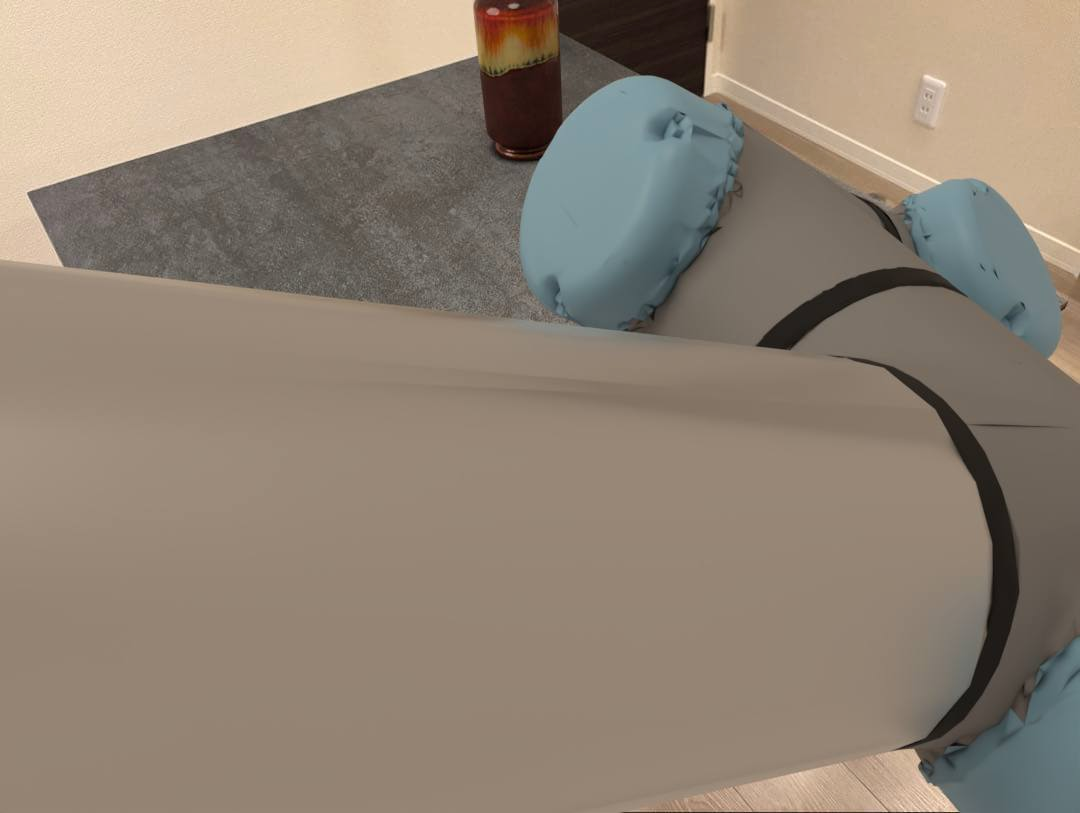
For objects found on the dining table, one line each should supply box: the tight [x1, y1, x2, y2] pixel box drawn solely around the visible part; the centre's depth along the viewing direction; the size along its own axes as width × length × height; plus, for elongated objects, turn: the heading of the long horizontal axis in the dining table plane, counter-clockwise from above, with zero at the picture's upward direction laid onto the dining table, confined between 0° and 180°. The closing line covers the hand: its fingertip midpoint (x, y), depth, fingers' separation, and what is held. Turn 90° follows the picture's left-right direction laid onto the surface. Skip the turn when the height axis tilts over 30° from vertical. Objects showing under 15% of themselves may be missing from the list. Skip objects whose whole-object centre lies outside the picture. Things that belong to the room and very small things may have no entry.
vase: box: [472, 0, 563, 162], centre depth 111 cm, size 11×11×26 cm
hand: (454, 522), depth 55 cm, fingers open, 13 cm apart
